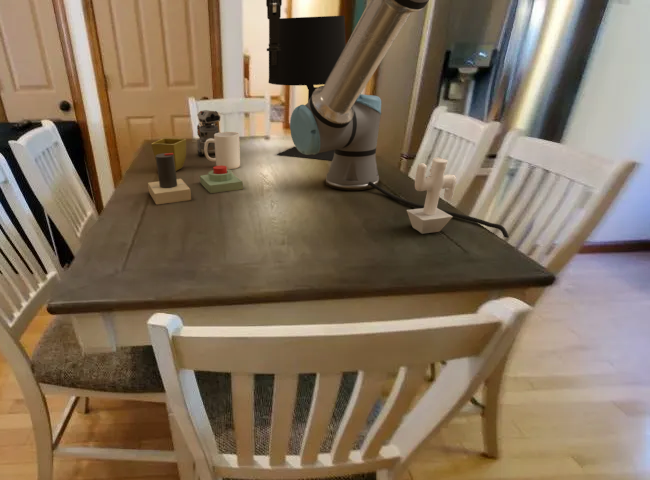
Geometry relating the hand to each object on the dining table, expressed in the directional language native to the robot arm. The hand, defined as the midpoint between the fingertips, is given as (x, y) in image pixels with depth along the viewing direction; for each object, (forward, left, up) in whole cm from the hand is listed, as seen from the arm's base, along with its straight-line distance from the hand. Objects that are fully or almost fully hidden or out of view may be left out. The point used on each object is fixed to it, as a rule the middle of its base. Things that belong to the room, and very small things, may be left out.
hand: (273, 78), depth 130 cm
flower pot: (+29, +23, -27) cm, 46 cm away
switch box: (+1, +18, -26) cm, 32 cm away
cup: (+22, +7, -27) cm, 35 cm away
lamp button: (+1, +18, -23) cm, 29 cm away
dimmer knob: (0, +35, -23) cm, 42 cm away
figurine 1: (+40, +3, -27) cm, 48 cm away
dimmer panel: (0, +35, -26) cm, 44 cm away
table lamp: (+17, -24, -27) cm, 40 cm away
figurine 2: (-59, -5, -27) cm, 65 cm away
